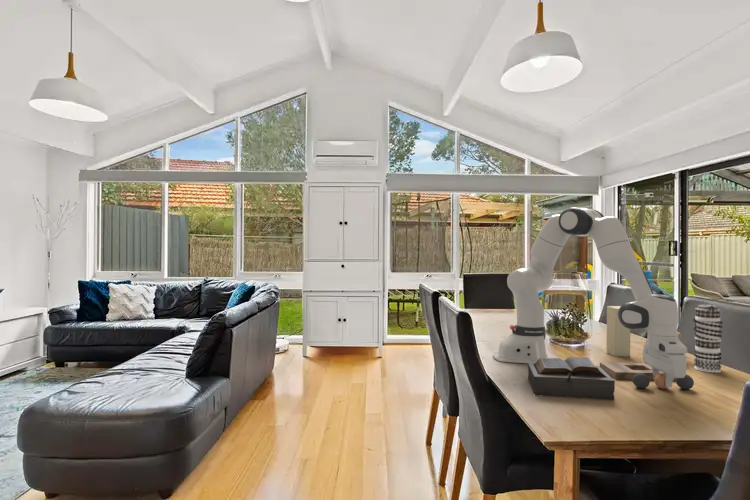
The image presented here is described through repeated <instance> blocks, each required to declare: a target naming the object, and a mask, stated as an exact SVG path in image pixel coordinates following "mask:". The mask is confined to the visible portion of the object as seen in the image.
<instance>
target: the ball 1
mask: <svg viewBox="0 0 750 500" xmlns="http://www.w3.org/2000/svg"><path fill="white" fill-rule="evenodd" d="M631 380H632V383H633V385H634V386H635V387H636V388H639V389H646V388H647V387H648V386H650V382H651V380H649V378H648V377H647V376H646V375H645V374H643V373H637V374H635V375H634V376H633V378H632V379H631Z"/></svg>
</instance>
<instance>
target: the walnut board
mask: <svg viewBox="0 0 750 500" xmlns="http://www.w3.org/2000/svg"><path fill="white" fill-rule="evenodd" d="M599 366H600V367H601V368H602V369H603V370H604V371H605V372H606V373H607V374H608V375H609V376H610V377H611V378H612V379H614V380H632V378H633V376H634V375H635V374H637V373H643V374H645V375H646V376H647V377H648V378H649V381H654V375H653V372H652V367H651V366H650V365H648V364H646V363H644V362H611V361H610V362H609V361H608V362H607V361H606V362H605V361H604V362H603V361H602V362H600V361H599ZM659 372H660V374H661V373H662V374H665V373H663V372H661V371H659ZM673 381H676V378H674V380H673Z"/></svg>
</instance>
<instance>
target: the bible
mask: <svg viewBox="0 0 750 500" xmlns="http://www.w3.org/2000/svg"><path fill="white" fill-rule="evenodd" d="M527 368H528V371H527V372H528V375H527V376H528V377H527V379H528V383H529V385H530V387H532V388H531V390H533V391H532V392H533V395H534V394H535V395H534V396H539V395H542V396H544V397H558V398H559V397H561V398H571V399H572V398H573V399H589V400H590V399H592V400H602V401H603V400H605V401H607V400H611V401H613V400H615V395H614V393H615V390H616V388H615V387H616V385H615V383H616V381H615V380H616V379H615V378H613V377H612V376H610V375H609V374H607V373H606V372H605V371H604V370H603V369H602V368H601V367H600V365H595V364H594V363H593V362H592V360H591V359H590V358H589V357H587V356H584V357H583V356H581V357H580V356H569V357H567V358H566V359H565V360H564V359H562V358H559V357H551V358H550V357H548V358H540V359H538V360H537V362H536V363H527ZM542 396H541V397H542Z"/></svg>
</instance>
